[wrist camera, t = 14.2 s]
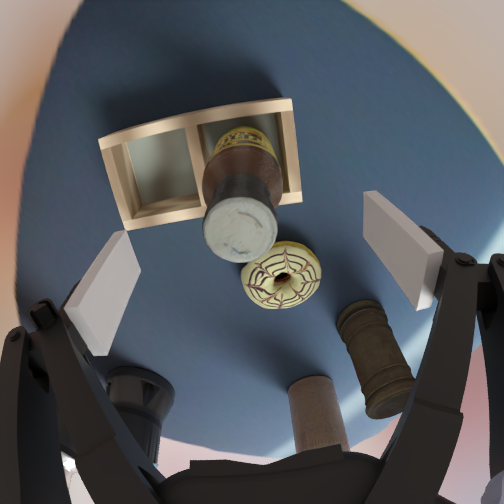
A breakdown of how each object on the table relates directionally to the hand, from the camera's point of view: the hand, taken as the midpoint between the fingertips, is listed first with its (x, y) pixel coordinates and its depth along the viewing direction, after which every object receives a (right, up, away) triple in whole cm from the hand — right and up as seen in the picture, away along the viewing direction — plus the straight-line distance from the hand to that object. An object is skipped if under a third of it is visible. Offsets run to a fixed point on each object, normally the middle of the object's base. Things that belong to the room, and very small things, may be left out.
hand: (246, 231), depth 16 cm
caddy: (-5, +10, +18) cm, 21 cm away
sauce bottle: (-1, +10, +17) cm, 20 cm away
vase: (+13, -30, +43) cm, 54 cm away
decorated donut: (+4, -3, +27) cm, 28 cm away
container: (+19, -13, +33) cm, 40 cm away
